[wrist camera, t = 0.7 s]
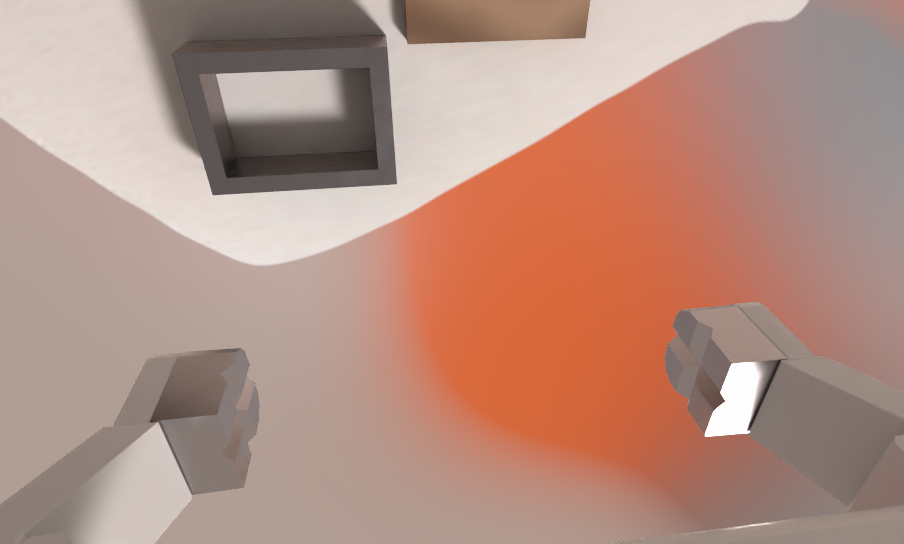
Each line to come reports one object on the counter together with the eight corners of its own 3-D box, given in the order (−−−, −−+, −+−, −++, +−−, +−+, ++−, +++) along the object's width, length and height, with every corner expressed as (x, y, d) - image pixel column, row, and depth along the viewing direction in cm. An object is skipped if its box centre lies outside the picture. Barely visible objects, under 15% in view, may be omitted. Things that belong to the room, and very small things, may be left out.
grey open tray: (188, 41, 40) (172, 54, 37) (385, 35, 42) (387, 46, 39) (223, 174, 47) (212, 195, 43) (395, 164, 48) (396, 184, 45)
